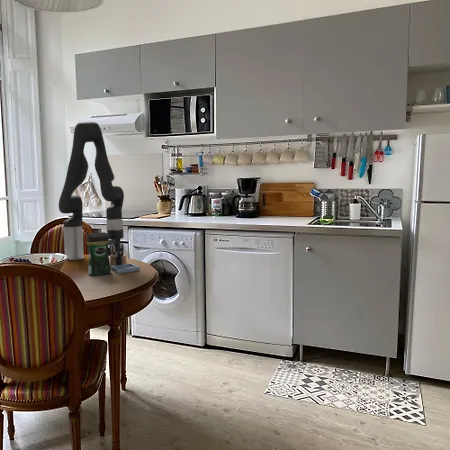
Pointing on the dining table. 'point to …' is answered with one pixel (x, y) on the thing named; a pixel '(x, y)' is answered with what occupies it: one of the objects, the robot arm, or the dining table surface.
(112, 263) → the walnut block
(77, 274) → the dining table surface
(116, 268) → the blue grey tray
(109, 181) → the robot arm
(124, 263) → the terracotta cube
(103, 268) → the coffee jar
